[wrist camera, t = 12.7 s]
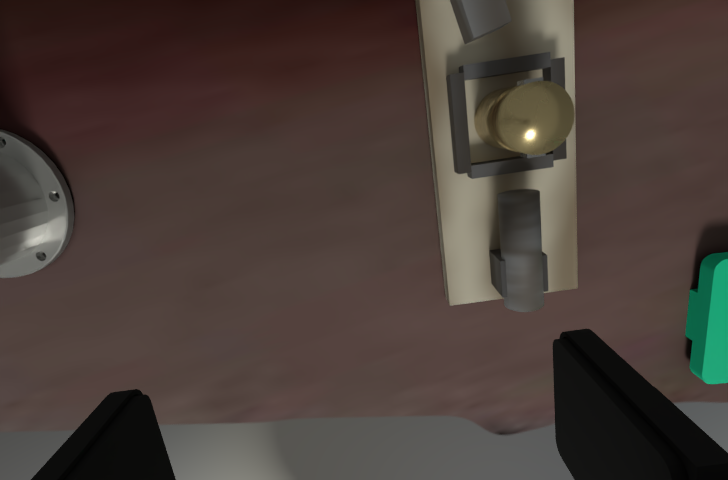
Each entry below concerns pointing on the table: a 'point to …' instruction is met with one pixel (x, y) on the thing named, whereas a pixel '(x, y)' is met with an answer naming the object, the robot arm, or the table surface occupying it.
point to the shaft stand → (498, 150)
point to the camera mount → (710, 320)
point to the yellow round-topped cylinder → (526, 117)
